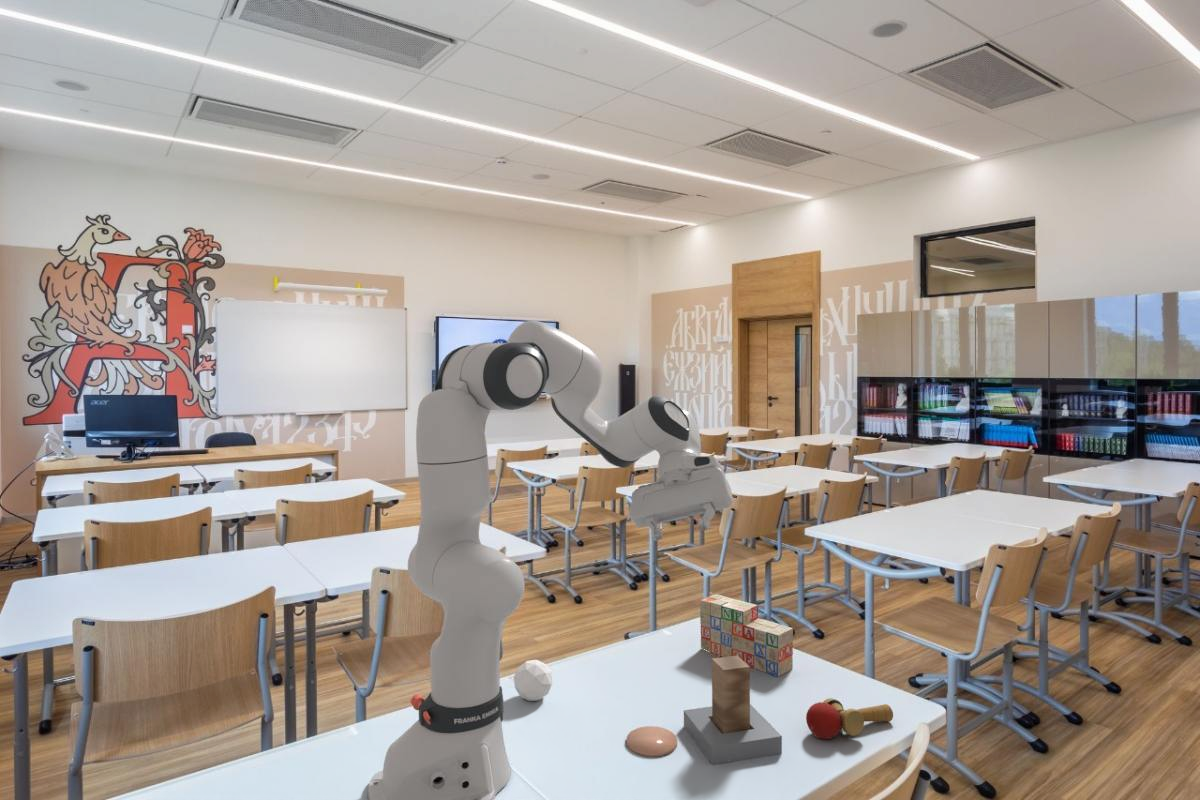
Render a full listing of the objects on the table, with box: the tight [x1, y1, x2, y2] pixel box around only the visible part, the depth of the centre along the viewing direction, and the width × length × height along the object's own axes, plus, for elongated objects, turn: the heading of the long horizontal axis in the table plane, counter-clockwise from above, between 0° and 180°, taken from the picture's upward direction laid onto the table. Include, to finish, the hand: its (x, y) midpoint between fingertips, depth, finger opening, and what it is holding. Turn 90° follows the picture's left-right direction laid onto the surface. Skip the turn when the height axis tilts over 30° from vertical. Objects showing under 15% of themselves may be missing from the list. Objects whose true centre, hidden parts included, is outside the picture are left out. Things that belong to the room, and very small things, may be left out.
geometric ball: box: [513, 659, 553, 702], centre depth 139 cm, size 8×8×8 cm
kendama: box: [805, 697, 894, 740], centre depth 125 cm, size 8×6×18 cm
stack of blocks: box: [699, 593, 794, 677], centre depth 157 cm, size 21×6×12 cm, turn 43°
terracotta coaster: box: [626, 725, 678, 758], centre depth 122 cm, size 9×9×1 cm
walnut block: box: [711, 656, 751, 734], centre depth 122 cm, size 5×5×14 cm
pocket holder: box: [683, 703, 783, 765], centre depth 122 cm, size 13×13×3 cm
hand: (680, 533), depth 126 cm, fingers open, 8 cm apart
